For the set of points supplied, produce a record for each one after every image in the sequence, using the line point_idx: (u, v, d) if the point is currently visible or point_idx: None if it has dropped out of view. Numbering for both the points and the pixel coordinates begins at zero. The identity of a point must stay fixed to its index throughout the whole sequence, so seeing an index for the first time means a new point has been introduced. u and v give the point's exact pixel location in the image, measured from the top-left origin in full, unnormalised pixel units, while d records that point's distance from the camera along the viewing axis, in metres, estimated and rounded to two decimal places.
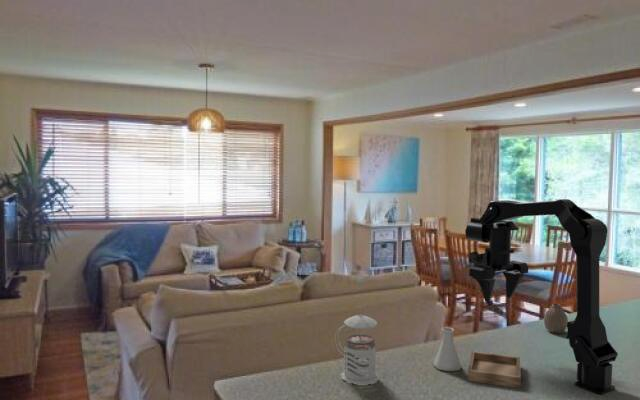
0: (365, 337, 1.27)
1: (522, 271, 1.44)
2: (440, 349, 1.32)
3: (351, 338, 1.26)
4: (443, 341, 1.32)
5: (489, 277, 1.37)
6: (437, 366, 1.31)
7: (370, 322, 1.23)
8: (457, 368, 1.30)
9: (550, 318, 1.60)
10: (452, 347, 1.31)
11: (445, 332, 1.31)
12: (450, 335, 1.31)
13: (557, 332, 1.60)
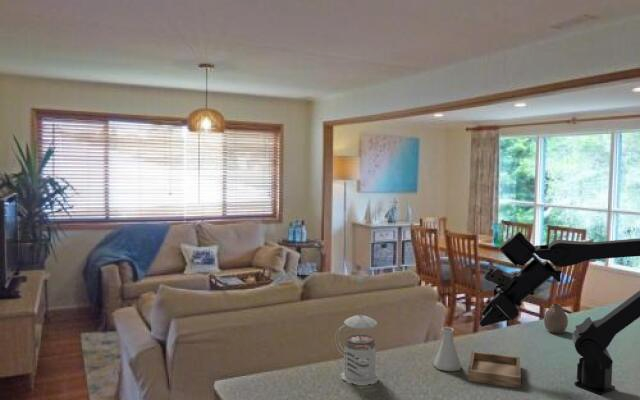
0: (365, 337, 1.27)
1: None
2: (440, 349, 1.32)
3: (351, 338, 1.26)
4: (443, 341, 1.32)
5: None
6: (437, 366, 1.31)
7: (370, 322, 1.23)
8: (457, 368, 1.30)
9: (550, 318, 1.60)
10: (452, 347, 1.31)
11: (445, 332, 1.31)
12: (450, 335, 1.31)
13: (557, 332, 1.60)
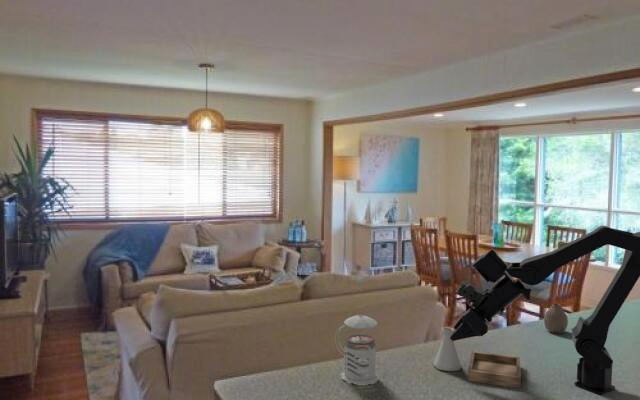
0: (365, 337, 1.27)
1: None
2: (440, 349, 1.32)
3: (351, 338, 1.26)
4: (443, 341, 1.32)
5: None
6: (437, 366, 1.31)
7: (370, 322, 1.23)
8: (457, 368, 1.30)
9: (550, 318, 1.60)
10: (452, 347, 1.31)
11: (445, 332, 1.31)
12: (450, 335, 1.31)
13: (557, 332, 1.60)
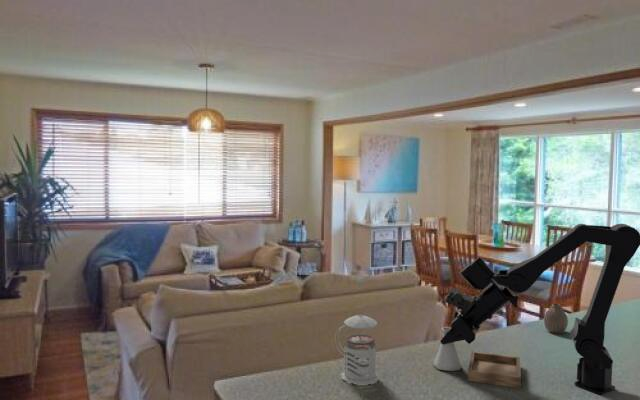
0: (365, 337, 1.27)
1: None
2: (440, 349, 1.32)
3: (351, 338, 1.26)
4: None
5: None
6: (437, 366, 1.31)
7: (370, 322, 1.23)
8: (457, 368, 1.30)
9: (550, 318, 1.60)
10: (452, 347, 1.31)
11: (445, 332, 1.31)
12: None
13: (557, 332, 1.60)
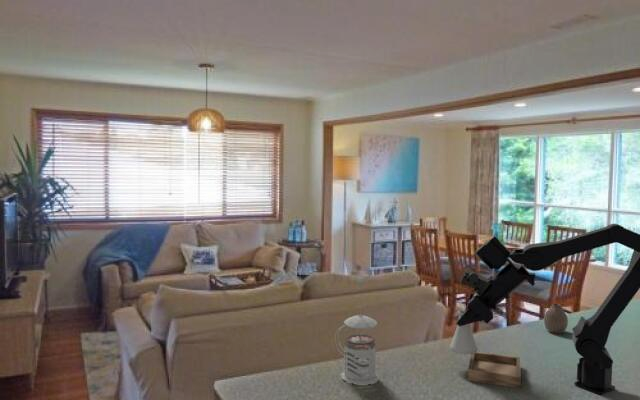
0: (365, 337, 1.27)
1: None
2: (456, 332, 1.30)
3: (351, 338, 1.26)
4: None
5: None
6: (453, 349, 1.29)
7: (370, 322, 1.23)
8: (474, 351, 1.28)
9: (550, 318, 1.60)
10: (468, 330, 1.29)
11: (461, 315, 1.29)
12: None
13: (557, 332, 1.60)
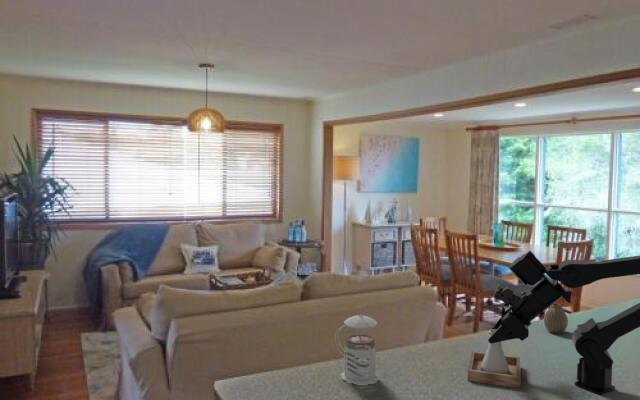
0: (365, 337, 1.27)
1: None
2: (487, 352, 1.28)
3: (351, 338, 1.26)
4: (491, 344, 1.28)
5: None
6: (485, 369, 1.27)
7: (370, 322, 1.23)
8: (506, 372, 1.26)
9: (550, 318, 1.60)
10: (500, 350, 1.27)
11: None
12: None
13: (557, 332, 1.60)
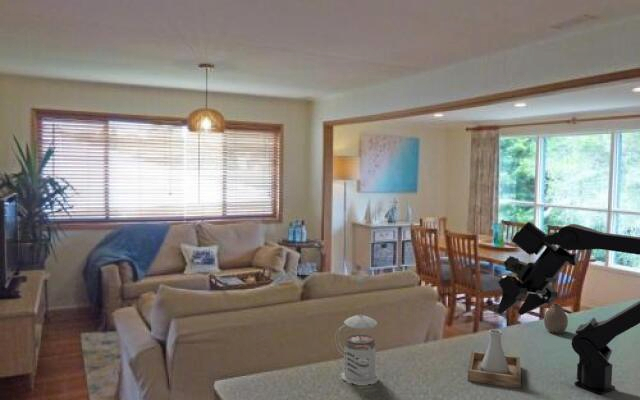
0: (365, 337, 1.27)
1: (550, 300, 1.30)
2: (487, 352, 1.28)
3: (351, 338, 1.26)
4: (491, 344, 1.28)
5: (518, 297, 1.22)
6: (485, 369, 1.27)
7: (370, 322, 1.23)
8: (506, 372, 1.26)
9: (550, 318, 1.60)
10: (500, 350, 1.27)
11: (493, 334, 1.27)
12: (498, 337, 1.27)
13: (557, 332, 1.60)
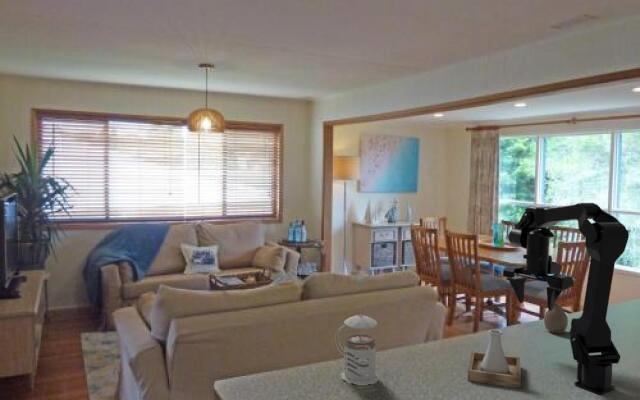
0: (365, 337, 1.27)
1: (549, 284, 1.36)
2: (487, 352, 1.28)
3: (351, 338, 1.26)
4: (491, 344, 1.28)
5: (506, 275, 1.47)
6: (485, 369, 1.27)
7: (370, 322, 1.23)
8: (506, 372, 1.26)
9: (550, 318, 1.60)
10: (500, 350, 1.27)
11: (493, 334, 1.27)
12: (498, 337, 1.27)
13: (557, 332, 1.60)
